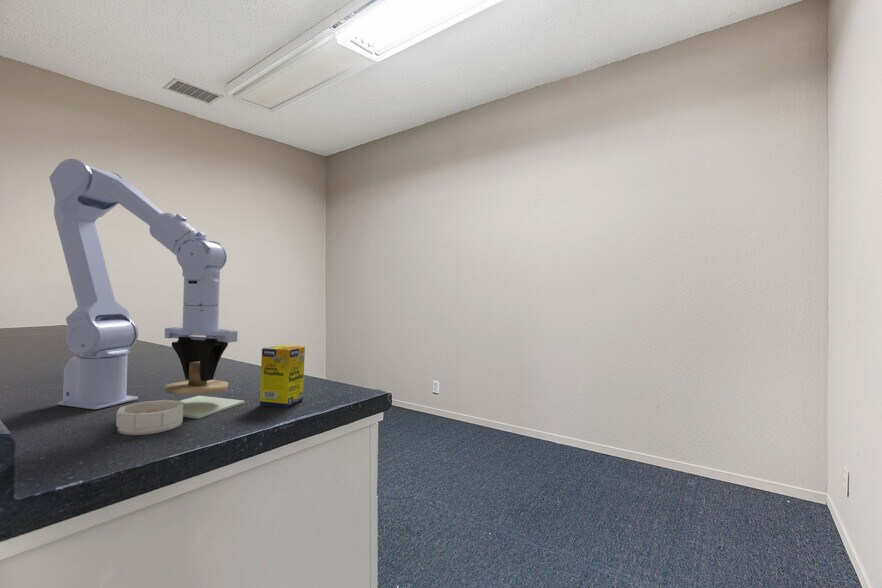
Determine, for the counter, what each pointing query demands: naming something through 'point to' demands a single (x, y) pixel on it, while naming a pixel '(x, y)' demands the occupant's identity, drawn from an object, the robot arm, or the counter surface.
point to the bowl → (149, 417)
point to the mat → (206, 406)
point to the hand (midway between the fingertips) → (199, 379)
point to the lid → (196, 383)
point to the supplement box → (282, 375)
